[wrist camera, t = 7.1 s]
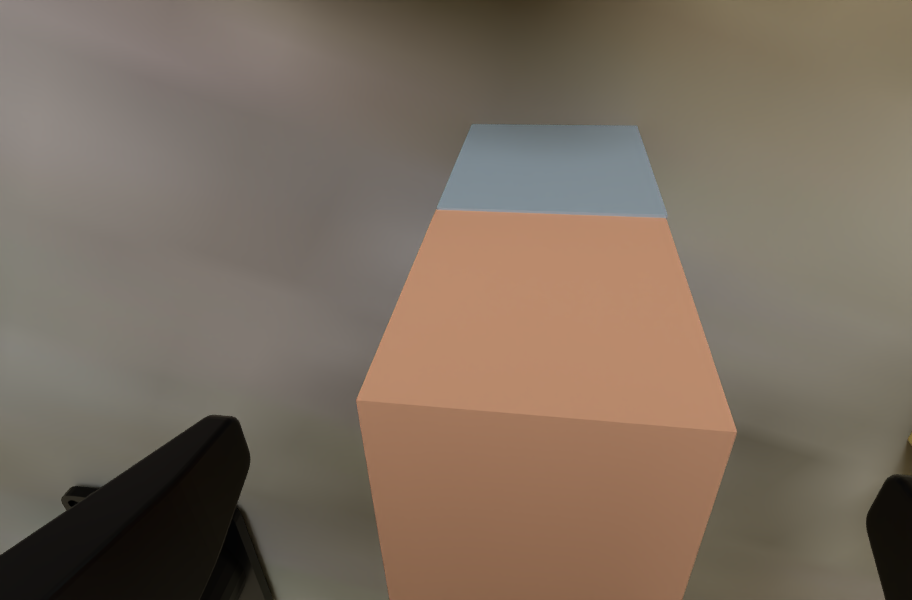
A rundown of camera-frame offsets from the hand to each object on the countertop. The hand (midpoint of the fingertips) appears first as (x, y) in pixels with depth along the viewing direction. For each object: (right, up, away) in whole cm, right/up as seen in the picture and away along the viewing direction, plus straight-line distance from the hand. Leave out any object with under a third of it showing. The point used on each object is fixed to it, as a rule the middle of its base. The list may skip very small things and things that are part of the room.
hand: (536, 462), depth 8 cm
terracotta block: (0, +1, +2) cm, 2 cm away
